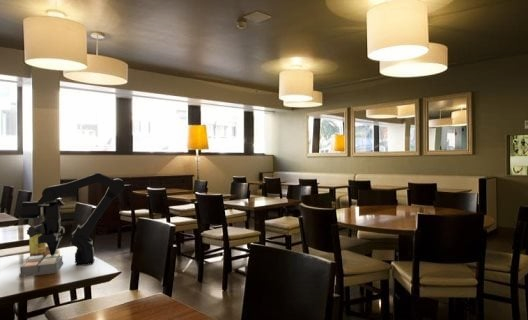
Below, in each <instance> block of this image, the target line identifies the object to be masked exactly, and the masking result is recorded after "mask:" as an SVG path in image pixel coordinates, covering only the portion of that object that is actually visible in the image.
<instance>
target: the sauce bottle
mask: <svg viewBox="0 0 528 320" xmlns="http://www.w3.org/2000/svg"><path fill="white" fill-rule="evenodd" d="M42 221H43V211H42V215H39V218H33V219H32V223H31V225H30V226H29V227H32V226H37V225H40V224H42ZM41 235H42V234H41V233H39V234H37V235H34V236H33V237H30V236H29V235H28V236H29V237H28V240H29V246H28V247H29V248H28V249H29V258H30V257H31V256H40V255H43V257H44V256H45V255H46V248H47V246H46V245H47V244H46V243H38V238H39V237H40V236H41Z"/></svg>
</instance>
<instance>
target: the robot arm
mask: <svg viewBox="0 0 528 320" xmlns="http://www.w3.org/2000/svg"><path fill="white" fill-rule="evenodd" d="M97 183H99V184H100V185H101V184H102V185H103V186H105V187H108V188H107V190H106V192H105V194H104V196H103V197H102V198H101V200H100V201H99V202H98V204H97V205H96V207H95V208H94V209H93V211H92V212H91V214H90V215H89V216H88V218H87V220H86V221H85V223H83V224H82V225H80V224H77V227H76V229H75V230H74V231H73V232H71V236H72V237H71V244H72V245H73V246H74V247H76V251H75V253H74V259H75V261H74V263H75V266H84V265H93V264H94V263H95V252H94V251H95V248H94V246H93V243H94V241H93V239H91V238H90V235H91V233H92V231H93V229H94V227H95V226H96V224H97V223H98V221H100V219H101V218H102V216H103V214H104V213H105V211H106V210H107V209H108V207H109V206H110V204H111V203H112V201H114V200H115V198H116V197H118V196H119V195H120V194H121V193H122V192H123V191H124V189H125V187H126V185H125V182H124V181H123V179H121V178H113V177H111V176H107V175H105V174H102V173H101V172H95V173H93V174H91V175H87V176H84V177H82V178H78V179H75V180H73V181H69V182H65V183H61V184H55V185H49V186H47V187H46V188H44V189H43V191H42V192H41V195H42V196H41V197H40V198H39V199H38V200H37V201H23V202H22V203H21V209H20V218H21V220H31V219H32V220H33V218H39V215H42V212H43V215H42V218H43V219H42V224H40V225H37V226H32V227H30V226H29V227H28V229H27V230H26V232H27V233H26V235H28V236H30V237H33V236H34V235H37V234H39V233H41V234H42V235H41V236H40V237H39V238H38V243H46V245H47V247H48V250H49V255H51V256H52V255H54V254H56V251H57V249H58V247H59V244H60V242H61V239H62V238H63V236H62V235H64V234H65V231H66V230H65V227H64V226H62V225H61V221H62V218H61V216H60V207H63V206H64V205H65V204H66V203H65V202H63V201H62V200H61V199H60V198H61V197H63V196H65V195H66V194H68V193H70V192H73V191H76V190H79V189H82V188H85V187H88V186H91V185H93V184H97ZM57 199H59V200H58V201H55V200H57ZM47 202H49V204H46V203H47ZM59 234H62V235H59Z"/></svg>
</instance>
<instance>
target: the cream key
mask: <svg viewBox="0 0 528 320" xmlns="http://www.w3.org/2000/svg"><path fill="white" fill-rule="evenodd" d="M56 262H57V258H47V259H44V260H43V261H42V262H41V265H46V264H55V263H56Z"/></svg>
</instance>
